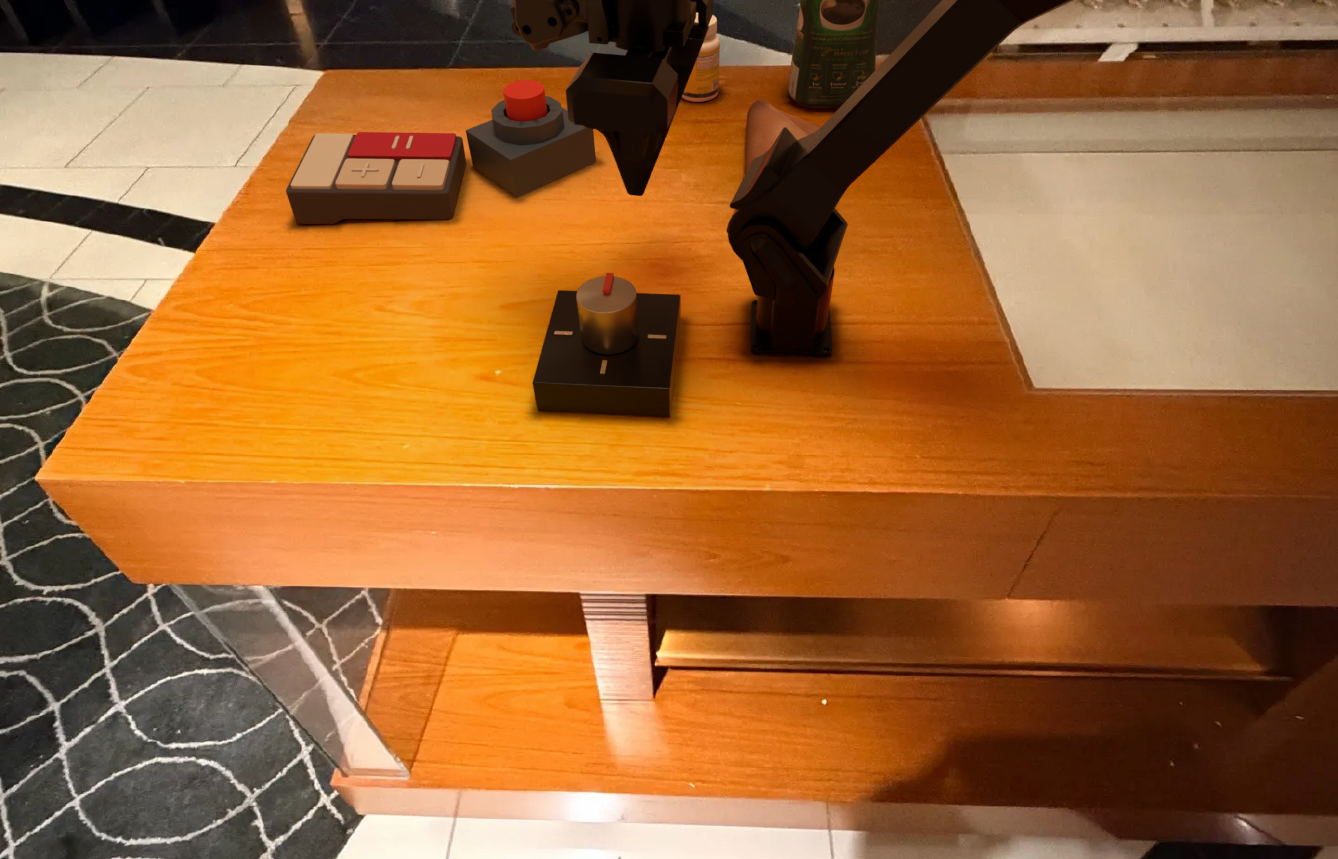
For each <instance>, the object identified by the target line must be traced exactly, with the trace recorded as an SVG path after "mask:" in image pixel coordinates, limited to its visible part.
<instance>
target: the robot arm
mask: <svg viewBox="0 0 1338 859" xmlns="http://www.w3.org/2000/svg"><path fill="white" fill-rule="evenodd" d="M714 1H715V0H511V6H510V7H509V11H510V13H511V16H512V19H513V20H512V23H511V30H512V32H513V33H514V35H516V36H517V37H522V39H523V42H525V43H527V44H529V45H530V47H531V50H532V51H536V52H537V51H541V50H542V51H543V50H545V49H547V48H548V47H549V45H551V44H554V43H557V42H560V41H563V40H566V39H570V38H573V37H576V36H579V35H582V34H584V33H585V34H586V32H588V44H593V45H594V44H595V45H607V46H608V45H609V43H615V44H614V45H615V47H616V48H617V49H620V50H623V51H626V53H625V54H615V53H614V54H613V53H604V52H603V53H602V52H592V53H591V54H590V55H589V57H587V58H586V60H585V61H583V62H582V63H581V65H579V67H578V69H577V70H576V72H575V74H574V75H573V77H572V78H571V81H570V82H569V84H568V85H567V87H566V89H565V97H566V98H565V99H566V110H567V111H568V120H570V121H571V122H572V123H573V124H574V125H582V126H583V127H585V128H589V129H593V130H596V131H597V132H599V133H600V134H602V136H603V137H604V138H605V140H606V142H607V145H608V147H609V150H610V151H611V153H612V156H613V159H614V162H615V164H616V167H617V169H618V172H619V175H620V177H621V180H622V183H623V185H624V188H625V190H626V193H627V194H628V195H629V196H635V197H643V195H644V194H645V191H646V189H647V186H648V185H649V181H650V179H651V176H652V173H653V171H654V169H655V167H656V164H657V162H658V159H659V156H660V154H661V151H662V149H663V146H664V144H665V141H666V138H667V136H668V134H669V131H670V128H671V126H672V124H673V121H674V119H675V116H676V113H677V111H678V107H679V105H680V102H681V101H682V95H683V92H684V90H685V87H686V85H687V83H688V80H689V78H690V75H691V73H692V70H693V67H694V65H695V62H696V60H697V57H698V55H699V52H700V50H701V47H702V45H703V42H704V40H705V37H706V35H707V32H708V29H709V26H708V25H709V23H710V20H711V18H712V15H714ZM1072 1H1074V0H941V1H940V2H939V3H938V4H937V5H936V6H935V7H934V8H933V9H932V10H931V11H930V12H929V13H928V14H927V15H926V16H925V17H924V19H923V20H921V22H919V23H918V25H917V26H916V27H914V29H913V30H912V31H910V33H909V34H908V35H907V36H906V37H905V38H904V39H903V40H902V42H900V43H899V45H898V46H897V47H896V48H895V49H894V50H893V51H892V52H891V53H890V55H888V56H887V58H885V60H883V62H881V64H879V66H878V67H877V68H875V71H874V72H873V73H872V74H871V75H870V76H869V77H868V79H867V80H866V81H865V82H864V83H863V84H862V85H861V86H860V87H859V88H858V89H857V90H856V91H855V92H854V93H853V94H852V95H851V96H850V97H849V99H848V100H847V101H846V102H845V103H844V104H843V105H842V106H841V107H840V108H837V110H836V111H835V112H834V113H833V114H832V115H831V116H830V117H829V118H828V119H827V121H825V122H824V123H823V124H822V125H821V126H820V127H821V128H820V129H818V130H817V131H816V132H814V133H812V134H810V135H808V136H806V137H803V138H801V139H799V140H797V139H796V138H795V137H794V136H793V135H792V133H791V132H790V131H789V130H788V129H787V128H786V127H784V128H783V129H782V131H781V132H780V134H779V136H778V137H777V139H776V140H775V142H774V144H773V145H772V146H771V148H770V149H769V150H768V151H767V152H765V153H764V154H763V155H761V156H759V157H757V158H754V159H753V160H752V162H751V164H750V166H749V168H748V170H747V172H746V174H745V173H744V176H743V178H742V180H741V182H740V184H739V186H738V188H737V190H736V192H735V194H734V196H733V198H732V200H731V201H730V204H729V208H731V209H733V210H734V211H733V213H732V215H731V217H730V218H729V220H728V223H727V227H726V230H725V231H726V234H727V238H728V243H729V245H730V247H731V249H732V251H733V253H734V254H735V255H736V256H737V257H738V258H739V259H740V260H741V261H742V263H743V266H744V270H745V271H746V274H747V277H748V280H749V283H750V285H751V289H752V291H753V294H754V295H755V296H756V297H757V298H756V299H753V300H751V303H750V327H749V328H750V330H749V352H750V353H751V354H752V355H759V356H762V355H763V356H786V357H807V358H809V357H810V358H811V357H812V358H830V357H831V356H832V355H833V350H834V348H833V336H832V334H833V333H832V320H831V319H832V318H831V308H830V306H831V300H832V298H831V297H832V291H833V287H834V279H835V271H836V270H835V264H836V262H837V258H838V255H839V253H840V249H841V246H842V244H843V240H844V237H845V234H846V231H847V229H848V228H847V227H848V225H849V224H848V222H847V220H846V219H845V218H844V217H843V216H842V214H840V213H839V211H838V210H837V209H836V207H837V205H838V204H839V202H840V200H841V199H842V197H843V196H844V194H845V193H846V191H847V190H848V188H849V187H850V186H851V185H852V184H853V183H854V182H855V181H856V180H857V179H858V178H859V177H861V175H863V174H864V173H865V172H866V171H867V170H868V169H869V168H871V166H872V165H873V164H874V163H875V162H876V161H878V160H879V159H880V158H881V157H882V156H883V155H884V154H885V153H886V152H887V151H888V150H889V149H890V148H891V147H893V146H894V145H895V144H896V143H897V142H898V141H899V140H900V139H901V138H902V137H903V136H904V135H905V134H906V133H907V132H909V130H910V129H912V128H913V127H914V126H915V125H916V124H917V123H918V122H919V121H920V120H921V119H922V118H923V117H924V116H926V115H927V113H928V112H930V110H932V109H933V108H934V107H935V106H936V105H937V104H938V103H939V102H941V100H942V99H943V98H945V96H946V95H947V94H949V93H950V92H951V91H952V90H953V89H954V88H955V87H956V86H958V84H959V83H961V81H963V79H965V78H966V77H967V76H968V75H969V74H970V73H971V72H972V71H973V70H974V69H975V68H976V67H977V66H978V65H979V64H981V63H982V62H983V61H984V60H985V59H986V58H987V57H988V56H989V55H990V54H992V52H993V51H994V50H995V49H996V48H997V47H998V46H999V45H1001V44H1002V43H1003V42H1004V41H1005V40H1007V38H1008V37H1009V36H1011V35H1012V33H1014V32H1015V31H1016V30H1018V29H1019V28H1020V27H1022V26H1023V25H1025V24H1027V23H1029V22H1031V21H1033V20H1036V19H1037V18H1039V17H1041V16H1044V15H1046V14H1048V13H1050V12H1052V11H1055V10H1056V9H1059V8H1061V7H1062V6H1066V5H1067V4H1069V3H1071V2H1072ZM696 13H698V22H694V21H695V19H696Z"/></svg>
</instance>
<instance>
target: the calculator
mask: <svg viewBox="0 0 1338 859" xmlns="http://www.w3.org/2000/svg"><path fill="white" fill-rule="evenodd" d="M464 146H465V145H464V139H463V137H462V136H459V135H457V134H456V133H453V132H452V133H451V132H400V131H399V132H397V131H396V132H393V131H391V132H390V131H388V132H387V131H386V132H385V131H359V132H357V133H356V134H353V133H337V132H335V133H333V132H331V133H330V132H317V133H316V134H314V135H313V136H312V137H311V139H310V142H309V143H308V146H307V147H306V150H305V151H304V154H303V155H302V157H301V159H300V161H299V163H298V165H297V167H296V168H295V171H294V173H293V175H292V176H291V179H290V181H289V183H288V184H287V187H286V189H285V193H286V196H287V199H288V202H289V205H290V208H291V211H292V215H293V217H294V220H295V222H296V223H297V224H299V225H336V224H337V223H339V222H340V221H342V220H443V221H444V220H445V221H447V220H451V219H453V218H454V213H455V210H456V206H457V203H458V198H459V193H460V190H461V186H462V182H463V178H464V173H465V169H466V165H467V159H466V152H465V147H464Z"/></svg>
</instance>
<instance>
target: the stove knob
mask: <svg viewBox="0 0 1338 859" xmlns="http://www.w3.org/2000/svg"><path fill="white" fill-rule="evenodd" d="M614 274H615V273H614V272H605V275H601V276H597V277H593V278H590V279H589V280H587V281H584V282H583V283H582V284H581V285H580V286H579V287H578V289H577V290H576V291H577V295H576V298H577V307H578V315H579V323H580V331H581V339H582V342H583V344H584V345H585V346H586V347H587V348H588V349H589V350H591V351H593V352H595V353H599V354H605V355H611V354H618V353H622V352H624V351H626V350H628V349H630V348H631V347H632V346H634V344H635V343H636V342H637V340H638V337H639V327H638V310H637V293H638V292H637V289H636V287H635V285H634V284H633V283H632V282H631V281H629V280H628V279H626V278H623V277H620V276H615V275H614Z"/></svg>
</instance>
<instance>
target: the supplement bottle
mask: <svg viewBox="0 0 1338 859" xmlns="http://www.w3.org/2000/svg"><path fill="white" fill-rule="evenodd" d="M694 22H698V13H696V19H695V21H694ZM708 26H709V29H708V32H707V35H706V37H705V40H704V42H703V45H702V47H701V50H700V52H699V55H698V57H697V60H696V62H695V65H694V67H693V70H692V73H691V75H690V78H689V80H688V83H687V85H686V87H685V90H684V92H683V95H682V97H681V99H683V100H685V101H688V102H692V103H693V102H694V103H702V102H707V101H711V100H713V99H715V98H716V97H717V96H718V94H719V91H720V89H719V88H720V87H719V86H720V52H721V51H720V49H721V41H720V37H719V36H718V34H717V33H718V32H717V31H718V19H717V17H716V16H715V15H714V14H713V15H712V18H711V20H710V23H709V25H708Z"/></svg>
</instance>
